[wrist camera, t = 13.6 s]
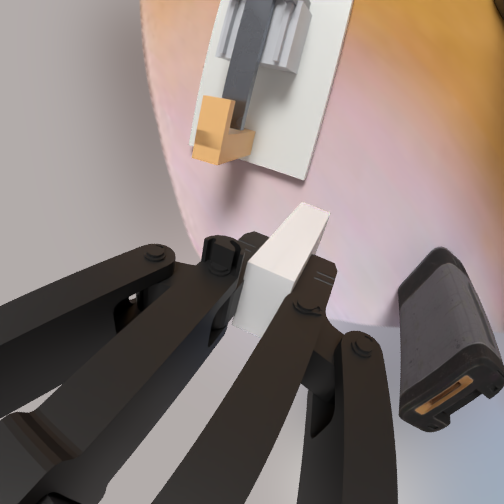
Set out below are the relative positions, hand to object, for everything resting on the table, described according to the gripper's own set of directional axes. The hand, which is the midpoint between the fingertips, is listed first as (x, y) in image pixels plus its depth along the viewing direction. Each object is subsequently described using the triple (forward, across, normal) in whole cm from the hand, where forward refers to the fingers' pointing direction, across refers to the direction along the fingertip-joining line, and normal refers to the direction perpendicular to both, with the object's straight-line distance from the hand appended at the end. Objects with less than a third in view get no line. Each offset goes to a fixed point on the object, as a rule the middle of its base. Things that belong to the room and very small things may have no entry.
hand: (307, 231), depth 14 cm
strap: (+15, -12, +10) cm, 22 cm away
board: (+21, -12, +9) cm, 26 cm away
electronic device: (+21, +16, -9) cm, 28 cm away
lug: (+20, -13, +1) cm, 23 cm away
